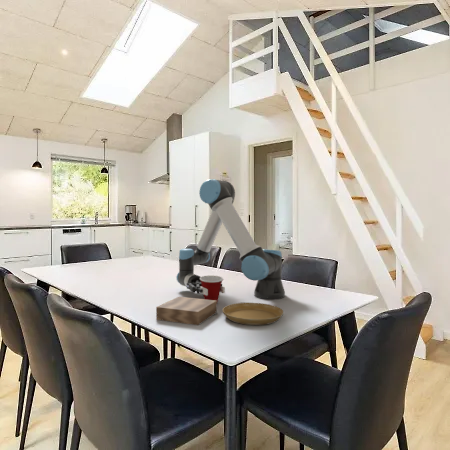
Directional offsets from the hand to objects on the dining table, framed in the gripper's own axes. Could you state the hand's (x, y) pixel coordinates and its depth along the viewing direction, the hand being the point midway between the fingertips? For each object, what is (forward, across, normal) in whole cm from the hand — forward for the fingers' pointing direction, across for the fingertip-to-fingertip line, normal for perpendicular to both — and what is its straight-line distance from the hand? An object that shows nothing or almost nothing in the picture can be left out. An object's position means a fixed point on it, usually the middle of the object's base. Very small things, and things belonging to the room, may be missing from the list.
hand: (215, 291), depth 162 cm
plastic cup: (-5, 0, -7) cm, 8 cm away
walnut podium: (+8, +17, -7) cm, 20 cm away
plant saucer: (+22, -5, -7) cm, 24 cm away
